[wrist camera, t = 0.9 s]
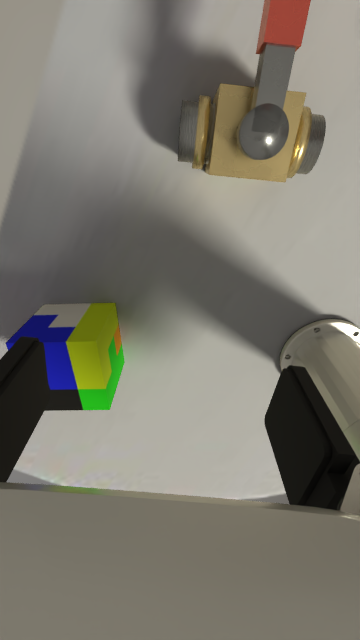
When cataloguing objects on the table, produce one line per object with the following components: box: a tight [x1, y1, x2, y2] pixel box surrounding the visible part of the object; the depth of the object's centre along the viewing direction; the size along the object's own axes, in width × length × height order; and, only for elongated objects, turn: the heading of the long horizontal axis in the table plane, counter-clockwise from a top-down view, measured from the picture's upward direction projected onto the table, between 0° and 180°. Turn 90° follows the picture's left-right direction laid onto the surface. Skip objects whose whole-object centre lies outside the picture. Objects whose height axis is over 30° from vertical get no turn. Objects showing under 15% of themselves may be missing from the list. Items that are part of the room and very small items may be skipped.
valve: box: [178, 83, 326, 182], centre depth 28 cm, size 13×7×8 cm, turn 85°
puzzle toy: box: [6, 303, 124, 411], centre depth 39 cm, size 10×10×10 cm
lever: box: [237, 0, 311, 160], centre depth 21 cm, size 4×14×2 cm, turn 175°
